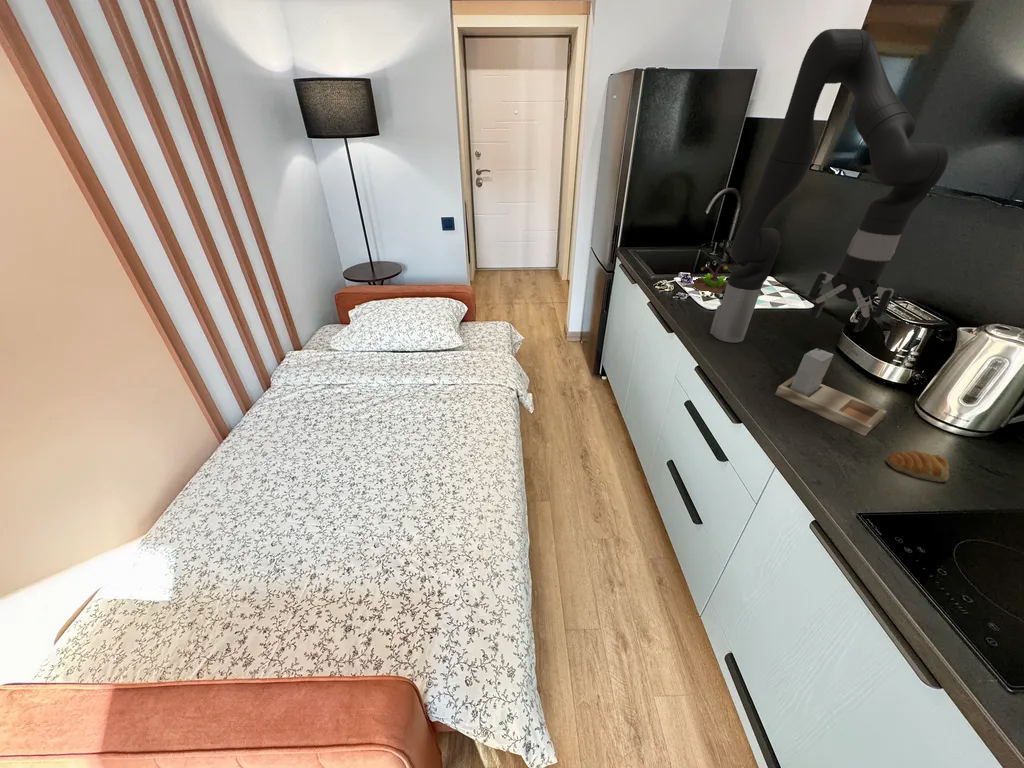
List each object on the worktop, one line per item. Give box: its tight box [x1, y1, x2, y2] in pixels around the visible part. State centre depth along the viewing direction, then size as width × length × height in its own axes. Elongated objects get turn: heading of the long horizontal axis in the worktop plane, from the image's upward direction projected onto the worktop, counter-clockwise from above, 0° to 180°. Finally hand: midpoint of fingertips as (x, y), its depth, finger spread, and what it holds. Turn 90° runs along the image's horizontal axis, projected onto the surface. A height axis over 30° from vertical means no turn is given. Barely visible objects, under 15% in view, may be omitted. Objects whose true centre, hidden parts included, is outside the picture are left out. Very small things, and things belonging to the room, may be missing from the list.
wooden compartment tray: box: [774, 375, 888, 437], centre depth 103 cm, size 20×10×2 cm, turn 36°
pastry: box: [885, 450, 950, 483], centre depth 85 cm, size 9×7×4 cm
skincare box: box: [790, 347, 835, 397], centre depth 104 cm, size 6×4×12 cm
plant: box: [693, 264, 728, 293], centre depth 163 cm, size 20×20×11 cm
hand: (835, 324), depth 96 cm, fingers open, 8 cm apart
